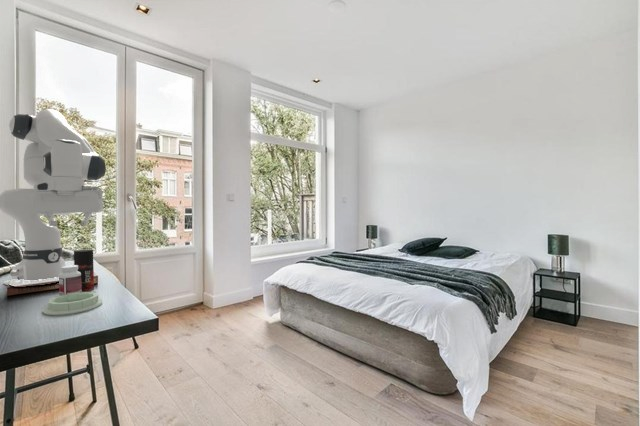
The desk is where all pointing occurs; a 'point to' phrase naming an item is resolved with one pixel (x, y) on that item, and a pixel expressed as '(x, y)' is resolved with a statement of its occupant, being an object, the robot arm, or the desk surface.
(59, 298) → the dish
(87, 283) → the deodorant
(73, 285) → the pill bottle
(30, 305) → the desk surface
